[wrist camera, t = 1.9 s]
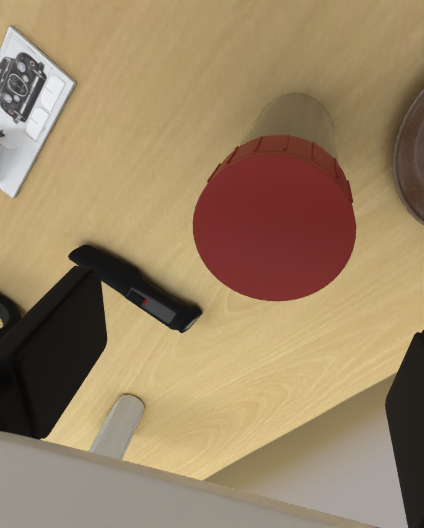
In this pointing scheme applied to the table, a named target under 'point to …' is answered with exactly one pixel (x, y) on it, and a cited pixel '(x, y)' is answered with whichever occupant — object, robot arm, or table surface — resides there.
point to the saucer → (411, 160)
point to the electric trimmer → (136, 288)
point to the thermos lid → (276, 219)
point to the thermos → (296, 121)
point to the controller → (8, 315)
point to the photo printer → (118, 428)
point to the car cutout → (26, 106)
